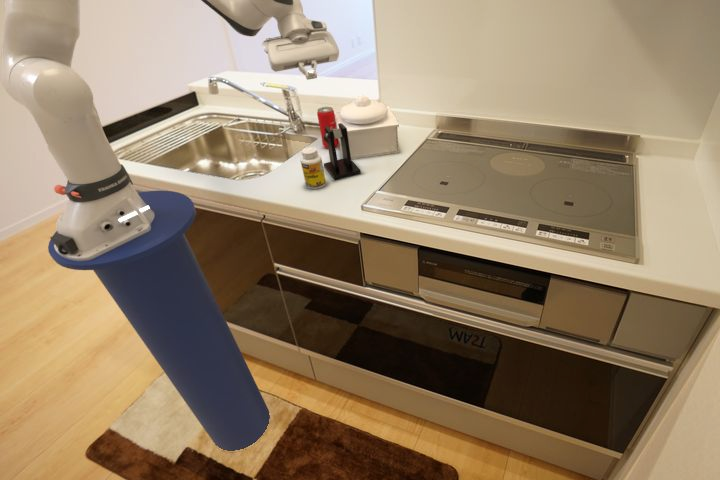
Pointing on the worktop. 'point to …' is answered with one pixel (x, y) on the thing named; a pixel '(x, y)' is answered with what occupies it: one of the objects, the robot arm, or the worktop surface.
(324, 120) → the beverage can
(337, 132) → the tap lever
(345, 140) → the bracket
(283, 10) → the robot arm
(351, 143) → the white box with dome
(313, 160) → the supplement bottle
